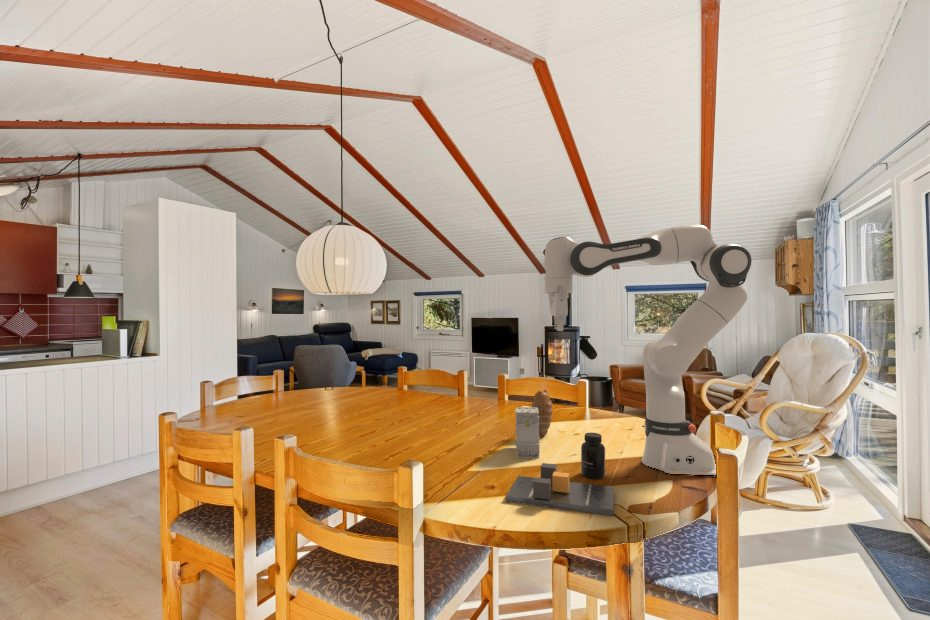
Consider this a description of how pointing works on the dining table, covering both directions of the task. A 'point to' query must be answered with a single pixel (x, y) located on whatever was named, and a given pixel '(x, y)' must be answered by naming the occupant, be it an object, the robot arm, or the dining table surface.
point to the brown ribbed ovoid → (543, 411)
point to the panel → (566, 497)
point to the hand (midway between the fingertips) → (558, 330)
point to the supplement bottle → (593, 456)
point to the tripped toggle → (560, 482)
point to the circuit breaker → (527, 432)
